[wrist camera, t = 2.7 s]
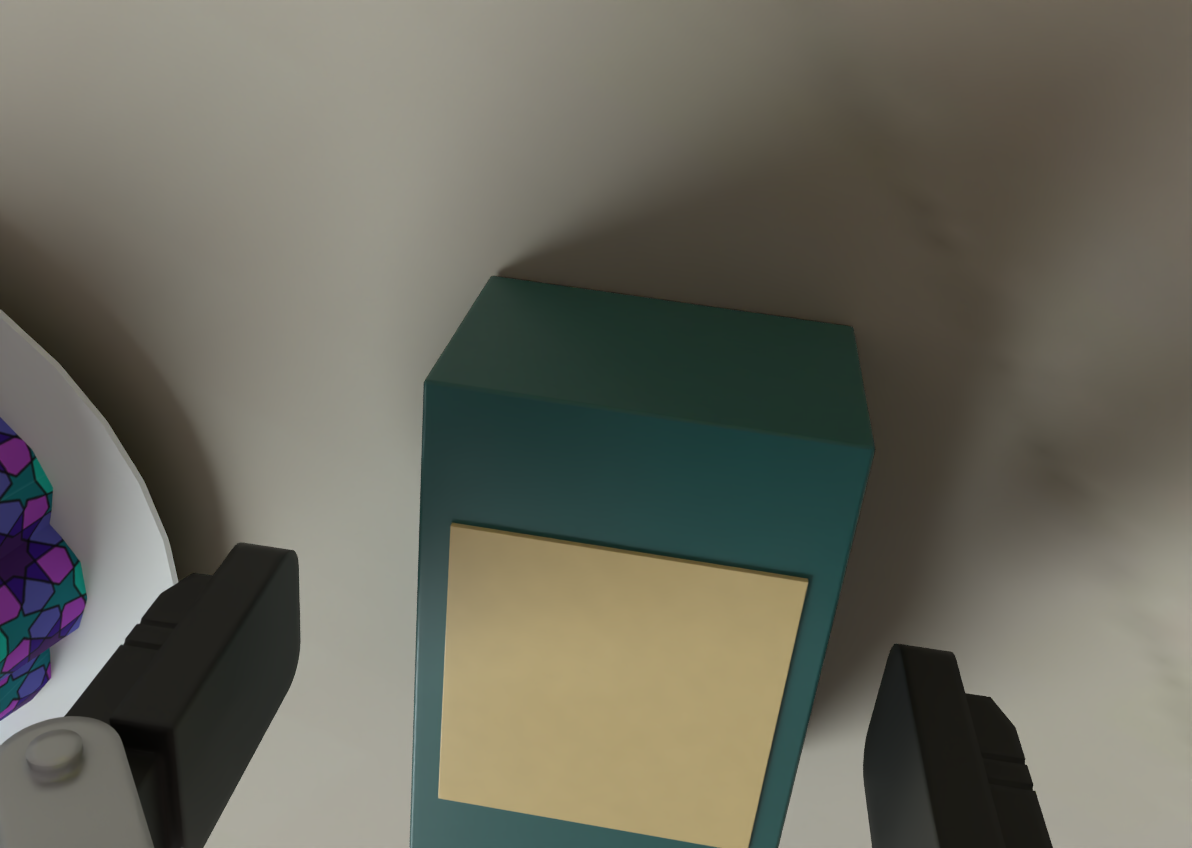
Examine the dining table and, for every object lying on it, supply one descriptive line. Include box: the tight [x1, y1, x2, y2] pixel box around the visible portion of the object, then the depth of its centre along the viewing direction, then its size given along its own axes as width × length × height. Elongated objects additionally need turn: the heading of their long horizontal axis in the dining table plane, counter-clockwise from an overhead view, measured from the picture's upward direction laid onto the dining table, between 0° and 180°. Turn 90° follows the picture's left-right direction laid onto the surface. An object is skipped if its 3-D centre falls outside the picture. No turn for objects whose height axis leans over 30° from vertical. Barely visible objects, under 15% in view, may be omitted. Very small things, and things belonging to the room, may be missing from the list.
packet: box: [410, 276, 875, 848], centre depth 16 cm, size 5×8×4 cm, turn 174°
